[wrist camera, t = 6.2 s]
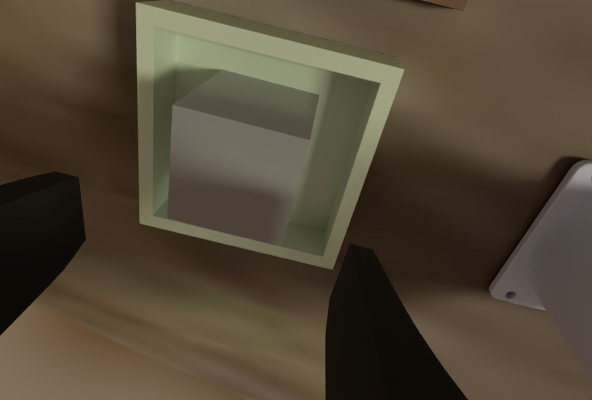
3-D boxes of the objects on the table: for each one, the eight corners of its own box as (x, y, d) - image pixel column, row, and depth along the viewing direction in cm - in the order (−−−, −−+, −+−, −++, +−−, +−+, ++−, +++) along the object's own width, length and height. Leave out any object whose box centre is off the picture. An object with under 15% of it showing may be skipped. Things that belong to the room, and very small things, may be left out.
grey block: (319, 94, 15) (309, 140, 10) (297, 179, 17) (281, 247, 12) (222, 69, 14) (172, 104, 10) (212, 158, 17) (167, 218, 12)
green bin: (395, 56, 14) (404, 69, 12) (333, 237, 19) (332, 269, 17) (167, -1, 14) (135, 2, 12) (162, 196, 19) (139, 223, 16)
